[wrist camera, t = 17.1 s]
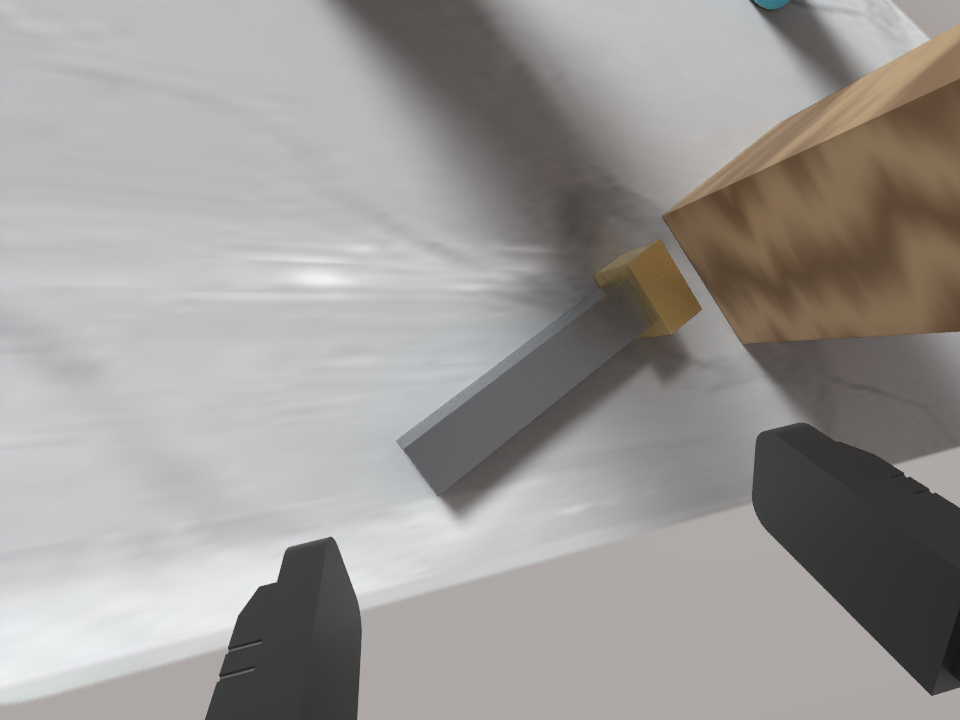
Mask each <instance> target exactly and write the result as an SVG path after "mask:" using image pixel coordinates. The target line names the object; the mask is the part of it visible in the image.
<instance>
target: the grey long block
mask: <svg viewBox="0 0 960 720" xmlns="http://www.w3.org/2000/svg"><path fill="white" fill-rule="evenodd" d="M593 277H594V278H595V280H596V281H597V283H598V285H599V286H600V288H599V289H597V290H596V291H595V292H593V293H592V294H591V295H589V296H588V297H587V298H585V299H584V300H583V301H581V302H580V303H579V304H577V305H576V306H575V307H573V308H572V309H571V310H569V311H568V312H567V313H565V314H564V315H563V316H561V317H560V318H559V319H557V320H556V321H555V322H554V323H552V324H551V325H550V326H548V327H547V328H546V329H544V330H543V331H542V332H540V333H539V334H538V335H536V336H535V337H534V338H532V339H531V340H530V341H528V342H527V343H526V344H524V345H523V346H522V347H520V348H519V349H518V350H516V351H515V352H514V353H512V354H511V355H510V356H508V357H507V358H506V359H504V360H503V361H502V362H500V363H499V364H498V365H496V366H495V367H494V368H492V369H491V370H490V371H488V372H487V373H486V374H484V375H483V376H482V377H480V378H479V379H478V380H476V381H475V382H474V383H472V384H471V385H470V386H468V387H467V388H466V389H464V390H463V391H462V392H460V393H459V394H458V395H456V396H455V397H454V398H452V399H451V400H450V401H448V402H447V403H446V404H444V405H443V406H442V407H440V408H439V409H438V410H436V411H435V412H434V413H432V414H431V415H430V416H428V417H427V418H426V419H424V420H423V421H422V422H420V423H419V424H418V425H416V426H415V427H414V428H412V429H411V430H410V431H408V432H407V433H406V434H404V435H403V436H402V437H400V438H399V439H398V440H396V441H397V443H398V444H399V446H400V447H401V448H402V450H403V451H404V452H405V454H406V455H407V456H408V458H409V459H410V460H411V462H412V463H413V464H414V466H415V467H416V469H417V470H418V471H419V473H420V474H421V475H422V477H423V478H424V479H425V481H426V482H427V483H428V485H429V486H430V487H431V488H432V490H433V491H434V492H435V493H436V495H437V496H439V495H440V494H442V493H443V492H444V491H445V490H447V489H448V488H449V487H450V486H452V485H453V484H454V483H455V482H457V481H458V480H459V479H460V478H462V477H463V476H464V475H465V474H467V473H468V472H469V471H470V470H472V469H473V468H474V467H475V466H477V465H478V464H479V463H480V462H482V461H483V460H484V459H485V458H487V457H488V456H489V455H490V454H492V453H493V452H494V451H495V450H497V449H498V448H499V447H500V446H502V445H503V444H504V443H505V442H507V441H508V440H509V439H510V438H512V437H513V436H514V435H515V434H517V433H518V432H519V431H520V430H522V429H523V428H524V427H525V426H527V425H528V424H529V423H530V422H532V421H533V420H534V419H535V418H537V417H538V416H539V415H540V414H542V413H543V412H544V411H545V410H547V409H548V408H549V407H550V406H552V405H553V404H554V403H555V402H556V401H558V400H559V399H560V398H561V397H563V396H564V395H565V394H566V393H568V392H569V391H570V390H571V389H573V388H574V387H575V386H576V385H578V384H579V383H580V382H581V381H583V380H584V379H585V378H586V377H588V376H589V375H590V374H591V373H593V372H594V371H595V370H596V369H598V368H599V367H600V366H601V365H603V364H604V363H605V362H606V361H608V360H609V359H610V358H611V357H613V356H614V355H615V354H616V353H618V352H619V351H620V350H621V349H623V348H624V347H625V346H626V345H628V344H629V343H630V342H631V341H633V340H634V339H635V338H643V337H654V336H664V335H671V334H673V333H674V332H675V331H676V330H678V329H679V328H680V327H681V326H682V325H684V324H685V323H686V322H687V321H689V320H690V319H691V318H692V317H693V316H695V315H696V314H697V313H698V312H700V311H701V310H702V308H701V306H700V305H699V303H698V301H697V300H696V298H695V296H694V295H693V293H692V291H691V290H690V288H689V286H688V285H687V283H686V281H685V279H684V278H683V276H682V274H681V273H680V271H679V269H678V268H677V266H676V264H675V263H674V261H673V259H672V258H671V256H670V254H669V253H668V251H667V249H666V247H665V246H664V244H663V242H662V241H661V239H659V240H656V241H654V242H651V243H649V244H646V245H644V246H641V247H639V248H636V249H633V250H631V251H628V252H626V253H623V254H622V255H620V256H619V257H618V258H616V259H615V260H614V261H612V262H611V263H610V264H608V265H607V266H605V267H604V268H603V269H601V270H600V271H599V272H597V273H596V274H595V275H593Z"/></svg>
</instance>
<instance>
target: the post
mask: <svg viewBox="0 0 960 720" xmlns="http://www.w3.org/2000/svg"><path fill="white" fill-rule="evenodd" d="M662 217H663V218H664V220H665V222H666V223H667V225H668V226H669V228H670V230H671V231H672V233H673V234H674V236H675V237H676V239H677V241H678V242H679V244H680V245H681V247H682V249H683V250H684V252H685V253H686V255H687V257H688V258H689V260H690V261H691V263H692V265H693V266H694V268H695V269H696V271H697V272H698V274H699V276H700V277H701V279H702V280H703V282H704V284H705V285H706V287H707V288H708V290H709V292H710V293H711V295H712V296H713V298H714V300H715V301H716V303H717V304H718V306H719V307H720V309H721V311H722V312H723V314H724V315H725V317H726V319H727V320H728V322H729V323H730V325H731V327H732V328H733V330H734V331H735V333H736V335H737V336H738V338H739V339H740V341H741V342H742V344H750V343H767V342H785V341H802V340H819V339H837V338H854V337H872V336H889V335H907V334H924V333H941V332H959V331H960V24H959V25H957V26H955V27H953V28H952V29H950V30H948V31H946V32H944V33H942V34H941V35H939V36H937V37H935V38H933V39H932V40H930V41H928V42H926V43H924V44H922V45H921V46H919V47H917V48H915V49H913V50H911V51H910V52H908V53H906V54H904V55H902V56H901V57H899V58H897V59H895V60H893V61H891V62H890V63H888V64H886V65H884V66H882V67H881V68H879V69H877V70H875V71H873V72H871V73H870V74H868V75H866V76H864V77H862V78H861V79H859V80H857V81H855V82H853V83H851V84H850V85H848V86H846V87H844V88H842V89H841V90H839V91H837V92H835V93H833V94H831V95H830V96H828V97H826V98H824V99H822V100H820V101H819V102H817V103H815V104H813V105H811V106H810V107H808V108H806V109H804V110H802V111H800V112H799V113H797V114H795V115H793V116H791V117H790V118H788V119H786V120H784V121H782V122H780V123H779V124H777V125H776V126H775V127H774V128H772V129H771V130H770V131H769V132H767V133H766V134H765V135H764V136H762V137H761V138H760V139H759V140H757V141H756V142H755V143H754V144H752V145H751V146H750V147H748V148H747V149H746V150H745V151H743V152H742V153H741V154H740V155H738V156H737V157H736V158H735V159H733V160H732V161H731V162H730V163H728V164H727V165H726V166H725V167H723V168H722V169H721V170H720V171H718V172H717V173H716V174H714V175H713V176H712V177H711V178H709V179H708V180H707V181H706V182H704V183H703V184H702V185H701V186H699V187H698V188H697V189H696V190H694V191H693V192H692V193H691V194H689V195H688V196H687V197H686V198H684V199H683V200H682V201H680V202H679V203H678V204H677V205H675V206H674V207H673V208H672V209H670V210H669V211H668V212H667V213H665V214H664V215H663V216H662Z"/></svg>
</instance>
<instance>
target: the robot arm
mask: <svg viewBox="0 0 960 720" xmlns="http://www.w3.org/2000/svg"><path fill="white" fill-rule="evenodd" d="M752 501H753V506H754V509H755V512H756V515H757V517H758V519H759V520H760V522H761V524H762V525H763V526H764V527H765V529H766V530H767V531H768V532H769V533H770V534H771V535H772V536H773V537H774V538H775V539H776V540H777V541H778V542H779V543H780V544H781V545H782V546H783V547H784V548H785V549H786V550H787V551H788V552H789V553H790V554H791V555H792V556H793V557H794V558H795V559H796V560H797V561H798V562H799V563H800V564H801V565H802V566H803V567H804V568H805V569H806V570H807V571H808V572H809V573H810V574H811V575H812V576H813V577H814V578H815V579H816V580H817V581H818V582H819V583H820V584H821V585H822V586H823V587H824V588H825V589H826V590H827V591H828V592H829V593H830V594H831V595H832V596H833V597H834V598H835V599H836V600H837V601H838V602H839V603H840V604H841V605H842V606H843V607H844V608H845V609H846V611H847V612H848V613H850V615H852V617H853V618H854V619H855V620H856V621H858V623H859V624H860V625H861V626H862V627H863V628H864V629H865V630H866V631H868V632H869V634H870V635H871V636H873V637H874V639H875V640H876V641H878V643H879V644H880V645H881V646H882V647H883V648H884V649H885V650H886V651H887V652H888V653H889V654H890V655H891V656H892V657H893V658H895V660H896V661H897V662H898V663H899V664H900V665H901V666H902V667H903V668H904V669H905V670H906V671H907V672H908V673H909V674H910V675H911V676H912V677H913V678H914V679H915V680H916V681H917V682H918V683H919V684H920V685H921V686H922V687H923V688H924V689H925V690H926V691H927V692H928V693H929V694H930V695H931V696H933V695H936V694H940V693H943V692H946V691H949V690H952V689H956V688H959V687H960V508H959V507H957V506H956V505H954V504H953V503H951V502H949V501H948V500H946V499H945V498H943V497H941V496H940V495H938V494H937V493H933V494H932V493H931V492H930V491H929V489H928V488H927V487H925V486H924V485H922V484H921V483H919V482H917V481H916V480H914V479H912V478H911V477H908V478H906V477H905V475H904V473H903V472H902V471H900V470H898V469H897V468H895V467H894V466H892V465H890V464H889V463H887V462H886V461H884V460H882V459H881V458H879V457H878V456H876V455H874V454H871V453H869V452H866V451H863V450H860V449H858V448H855V447H852V446H850V445H847V444H844V443H841V442H838V443H837V442H835V441H834V440H832V439H831V438H829V437H828V436H826V435H825V434H823V433H822V432H820V431H818V430H817V429H815V428H814V427H812V426H810V425H809V424H806V423H796V424H792V425H788V426H784V427H780V428H776V429H772V430H768V431H764V432H761V433H760V434H759V435H758V437H757V440H756V447H755V461H754V475H753V490H752ZM361 635H362V630H361V617H360V610H359V605H358V601H357V598H356V595H355V592H354V589H353V587H352V584H351V581H350V578H349V576H348V573H347V570H346V568H345V565H344V562H343V559H342V557H341V554H340V551H339V549H338V546H337V543H336V542H335V540H334V538H332V537H328V538H324V539H320V540H316V541H312V542H308V543H304V544H300V545H296V546H292V547H289V548H287V549H286V551H285V554H284V557H283V561H282V565H281V569H280V573H279V577H278V581H277V582H276V583H272V584H268V585H264V586H260V587H259V588H258V589H257V591H256V592H255V593H254V595H253V596H252V598H251V599H250V600H249V602H248V603H247V605H246V606H245V607H244V609H243V610H242V612H241V613H240V614H239V616H238V618H237V621H236V625H235V628H234V631H233V634H232V637H231V640H230V643H229V646H228V649H229V653H228V654H226V656H225V659H224V662H223V665H222V668H221V672H220V674H219V676H220V681H219V682H217V684H216V687H215V690H214V693H213V696H212V699H211V703H210V706H209V709H208V712H207V715H206V718H205V720H357V712H358V711H357V710H358V693H359V675H360V656H361V637H362V636H361Z"/></svg>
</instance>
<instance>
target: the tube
mask: <svg viewBox="0 0 960 720" xmlns="http://www.w3.org/2000/svg"><path fill="white" fill-rule="evenodd" d="M754 1H755V2H756V3H757V4H758V5H759V6H761V7H763V8H766V9H779V8H781V7H782V6H784V5H785V4H787V3H788V2H789V1H790V0H754Z"/></svg>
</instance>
